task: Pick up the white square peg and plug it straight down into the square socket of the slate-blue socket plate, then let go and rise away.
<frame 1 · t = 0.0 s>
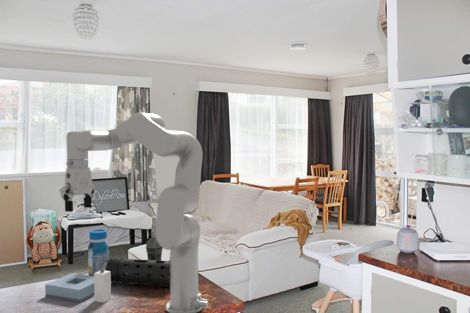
hand: (78, 209, 156), 31 cm above the kitchen counter, tool pointing down, fingers open, 9 cm apart
socket plate: (76, 292, 155), on the kitchen counter
white square peg: (102, 299, 148), on the kitchen counter
beverage bottle: (98, 279, 171), on the kitchen counter
beverage cup: (154, 274, 177), on the kitchen counter
muzzle brake: (139, 285, 163), on the kitchen counter
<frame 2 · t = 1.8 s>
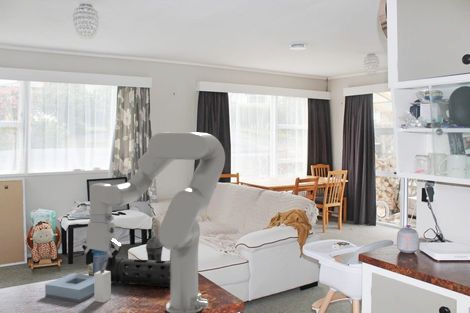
hand: (100, 265, 147), 12 cm above the kitchen counter, tool pointing down, fingers open, 9 cm apart
nothing on the kitchen counter moved.
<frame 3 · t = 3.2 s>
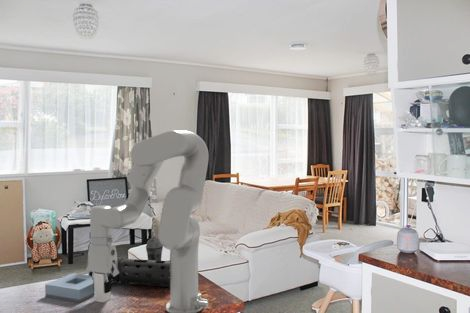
hand: (102, 290, 147), 3 cm above the kitchen counter, tool pointing down, fingers closed on white square peg, 4 cm apart
white square peg: (102, 299, 148), on the kitchen counter, touching gripper
everything else where it was.
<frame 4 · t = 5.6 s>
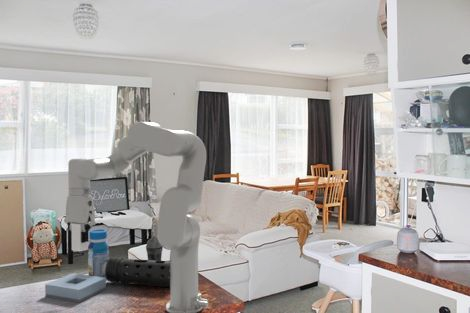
hand: (79, 240, 153), 20 cm above the kitchen counter, tool pointing down, fingers closed on white square peg, 4 cm apart
white square peg: (79, 249, 153), point 17 cm above the kitchen counter, touching gripper
everything else where it was.
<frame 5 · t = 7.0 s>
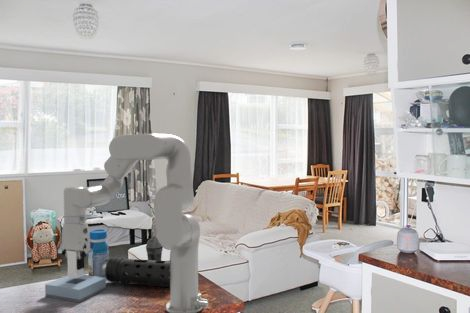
hand: (75, 267, 154), 10 cm above the kitchen counter, tool pointing down, fingers closed on white square peg, 4 cm apart
white square peg: (75, 276, 154), point 6 cm above the kitchen counter, touching gripper
everything else where it was.
when the fingers open (5 cm above the kitchen counter, at t = 8.3 s): white square peg stays where it is, resting on socket plate.
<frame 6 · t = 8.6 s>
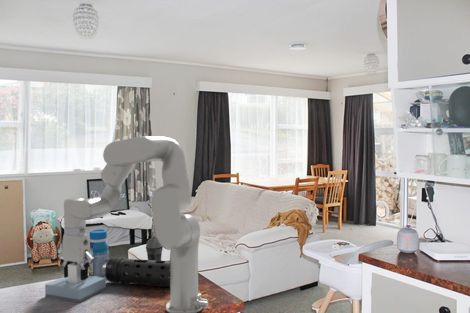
hand: (76, 277, 154), 6 cm above the kitchen counter, tool pointing down, fingers open, 7 cm apart
white square peg: (76, 290, 155), point 1 cm above the kitchen counter, touching socket plate
everything else where it was.
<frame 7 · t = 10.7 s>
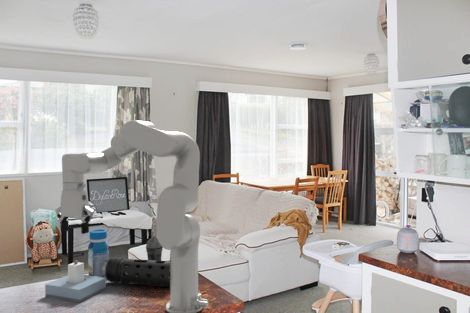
hand: (74, 232, 154), 23 cm above the kitchen counter, tool pointing down, fingers open, 9 cm apart
nothing on the kitchen counter moved.
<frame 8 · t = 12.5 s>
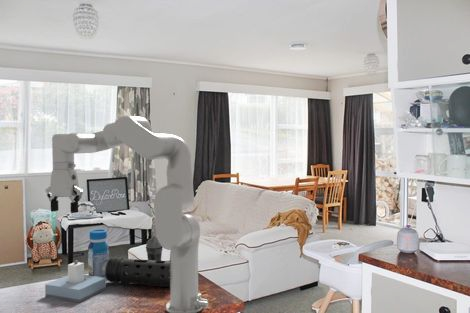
hand: (64, 211, 156), 30 cm above the kitchen counter, tool pointing down, fingers open, 9 cm apart
nothing on the kitchen counter moved.
at the end: white square peg 0.1 cm off-centre on the socket plate, point 1.0 cm above the socket plate's base; white square peg tilted 0°; the gripper is holding nothing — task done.
